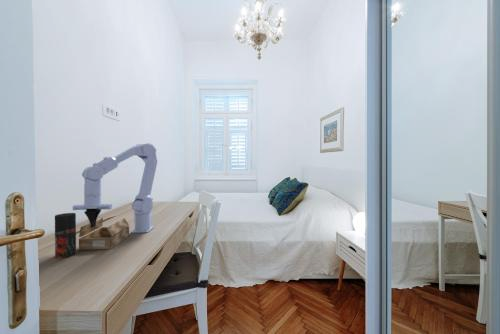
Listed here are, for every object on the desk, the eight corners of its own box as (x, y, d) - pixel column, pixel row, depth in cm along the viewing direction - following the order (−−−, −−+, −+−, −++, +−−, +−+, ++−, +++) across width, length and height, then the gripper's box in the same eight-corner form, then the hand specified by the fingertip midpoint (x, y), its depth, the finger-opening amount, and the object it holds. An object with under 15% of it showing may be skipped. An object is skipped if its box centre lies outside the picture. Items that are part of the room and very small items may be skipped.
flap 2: (128, 225, 102) (123, 218, 102) (129, 225, 102) (124, 218, 102) (111, 236, 87) (106, 228, 87) (112, 236, 87) (106, 227, 87)
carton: (102, 236, 101) (102, 226, 101) (129, 235, 103) (129, 226, 103) (78, 250, 85) (78, 239, 85) (110, 249, 86) (110, 238, 86)
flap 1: (101, 226, 101) (102, 217, 101) (101, 226, 101) (103, 217, 101) (78, 237, 86) (80, 227, 86) (79, 237, 86) (81, 227, 86)
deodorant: (80, 252, 83) (79, 213, 83) (62, 259, 77) (62, 217, 77) (68, 251, 85) (68, 212, 84) (50, 257, 79) (50, 216, 79)
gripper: (67, 196, 88) (67, 229, 88) (105, 195, 90) (105, 228, 90) (79, 194, 95) (78, 225, 95) (114, 193, 97) (114, 224, 97)
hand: (92, 226), depth 93 cm, fingers closed, pressing on flap 1
